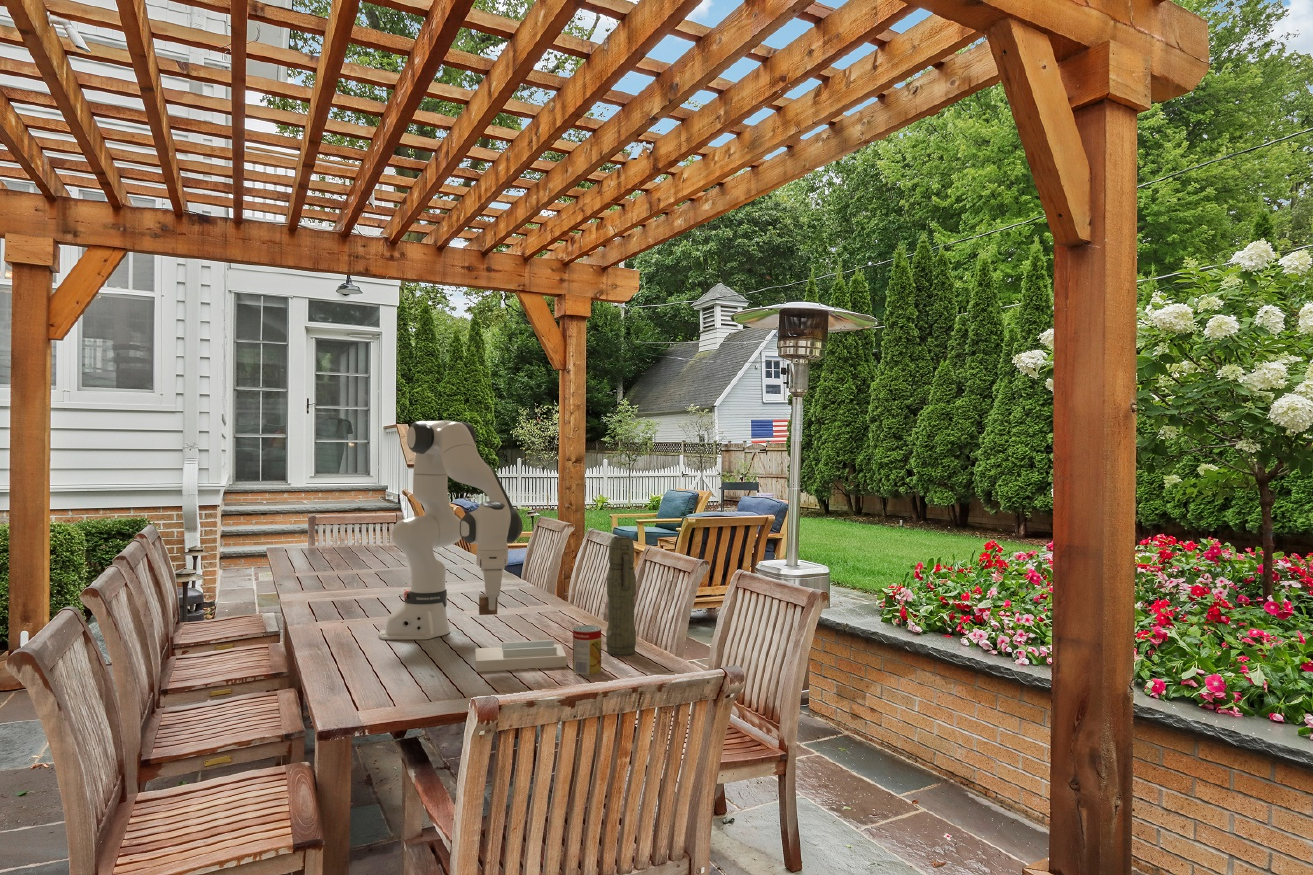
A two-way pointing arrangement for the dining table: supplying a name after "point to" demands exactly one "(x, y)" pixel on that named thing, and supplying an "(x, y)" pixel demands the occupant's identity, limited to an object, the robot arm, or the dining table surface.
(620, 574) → the thermos
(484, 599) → the walnut block
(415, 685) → the dining table surface
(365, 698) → the dining table surface
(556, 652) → the channel
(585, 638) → the canned food
